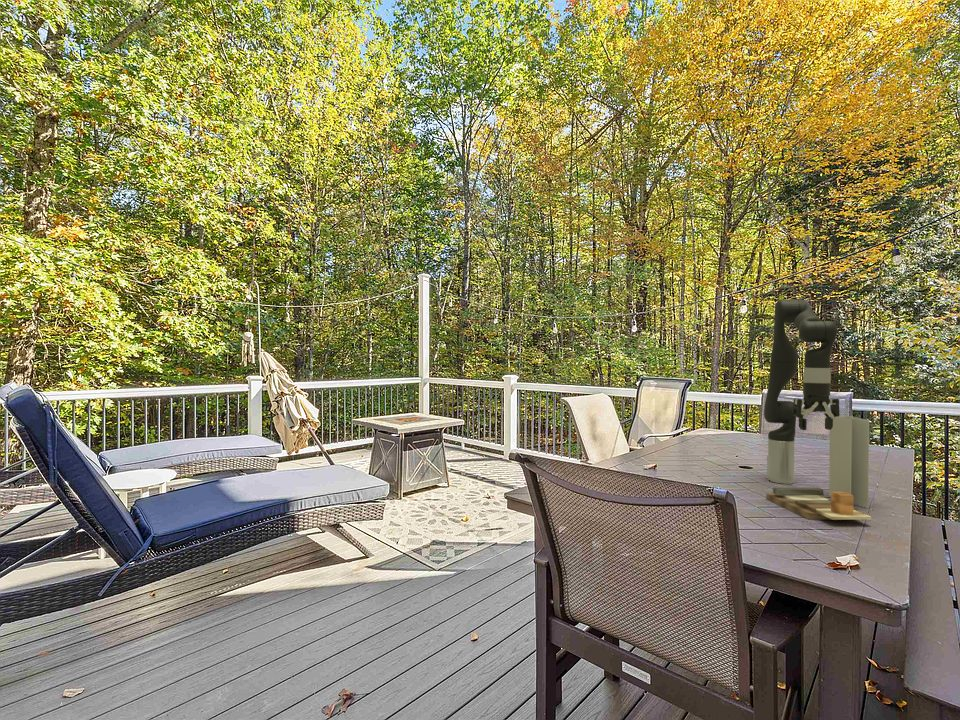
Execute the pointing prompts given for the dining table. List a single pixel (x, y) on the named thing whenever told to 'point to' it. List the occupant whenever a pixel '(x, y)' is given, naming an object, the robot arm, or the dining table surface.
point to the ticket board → (801, 500)
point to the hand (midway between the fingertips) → (815, 429)
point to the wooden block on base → (842, 508)
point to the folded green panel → (850, 458)
